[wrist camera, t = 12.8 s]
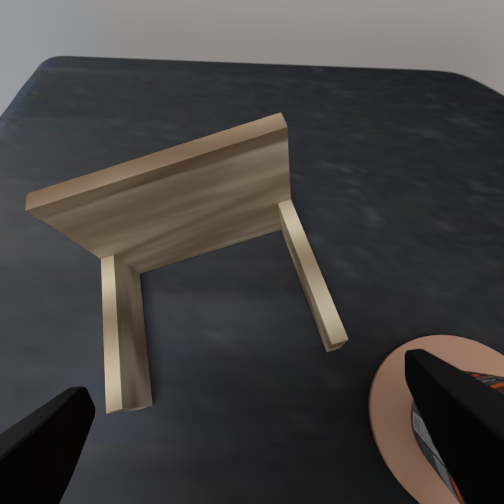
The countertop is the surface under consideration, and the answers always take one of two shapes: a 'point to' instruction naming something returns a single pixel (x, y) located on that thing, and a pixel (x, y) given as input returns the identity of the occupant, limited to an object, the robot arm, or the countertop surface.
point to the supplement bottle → (427, 445)
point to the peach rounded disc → (399, 411)
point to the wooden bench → (180, 231)
